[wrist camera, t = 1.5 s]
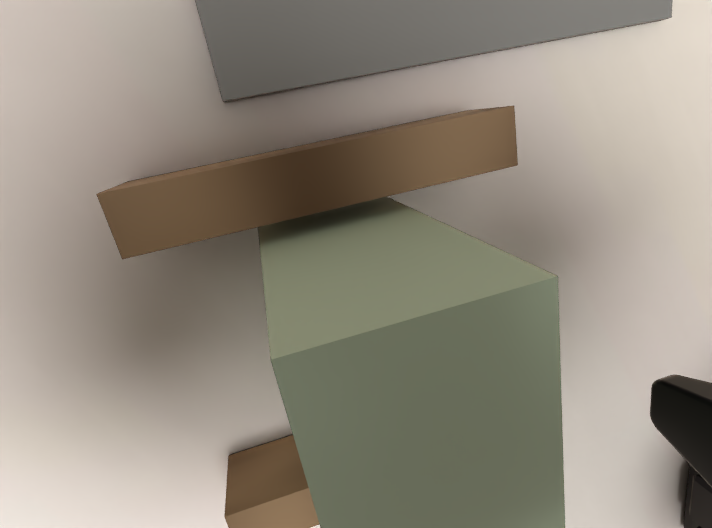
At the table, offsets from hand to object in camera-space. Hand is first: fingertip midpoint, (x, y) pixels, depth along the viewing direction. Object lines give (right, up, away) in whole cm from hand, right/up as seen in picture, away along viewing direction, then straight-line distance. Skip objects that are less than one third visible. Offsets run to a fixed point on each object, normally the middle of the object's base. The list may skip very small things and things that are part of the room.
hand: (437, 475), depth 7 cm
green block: (-2, +2, +7) cm, 7 cm away
